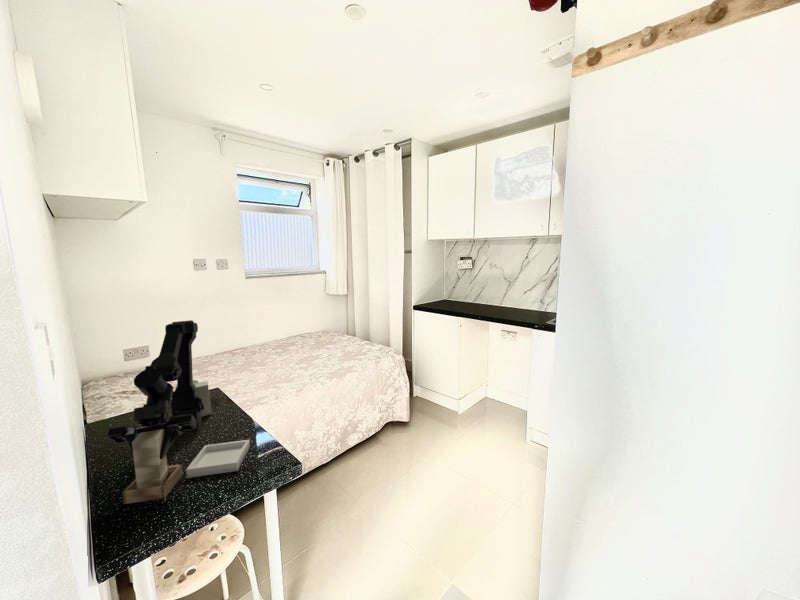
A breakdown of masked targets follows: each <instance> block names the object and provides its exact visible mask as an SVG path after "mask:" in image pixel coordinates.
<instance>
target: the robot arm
mask: <svg viewBox="0 0 800 600" xmlns="http://www.w3.org/2000/svg"><path fill="white" fill-rule="evenodd" d="M198 329H199V326H198V323H197V322H194V320H181V321H173V322H172V323H168V324H165V329H164V330H165V335H164V337H163V342H162V345H161V347H160V352H159V354H158V356H157V357H156V358H155V359H153V360H152V361H151V363H150V365H146V366H145V369H144V370H142V371H140V372H139V373H137V375H136V376H135V377H134V378H133V384H134V386H135V387H136V388H137V389H138V390H139V391H140V392H141V393H142V394H143V395H144V396H145V397H146V403H145V404H143V406H141V407H135V408H134V409H133V420H132V421H133V422H136V421H137V424H138V425H141V426H135V427H132V426H130V424H128V423H125V424H121V425H115V426H111V427H110V428H109V429H108V430H107V432H106V436H105V438H106V439H107V440H109V441H110V442H112V443H114V444H116V445H118V444H124V443H127V444H128V445H129V448H130V451H131V456H132V460H133V462H134V457H133V448H132V442H133V441H134V440H135V439H136V437H137V436H138V435H139V434H140V433H142V432H148V431H154V430H161V429H163V430H164V438H163V443H162V447H161V451H160V459H163V458H164V456H165V455H166V456H167V453H168V451H169V449H171V447H172V445H173V444H174V442H175V441H176V440H177V439H178V437H179V436H181V435H183V433H189V432H196V431H198V430H199V429H200V428H201V427H202V425H203V424H205V421H203V420H202V417H201V410H204V403H203V400H202V398H201V397H200V395H199V393H198V390H197V389H196V387H195V386H194V385H193V354H192V349H193V348H192V347H193V346H192V345H193V343H194V341H195V340H196V338H197V333H198V332H199V330H198ZM175 381H177V382H176V383H177V384H176V385H177V388H176V387H175V389H174V386H173V385H172V384H171V383H170V382H175ZM170 413H172V417H174V420H169V419H170Z"/></svg>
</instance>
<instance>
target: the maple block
mask: <svg viewBox="0 0 800 600" xmlns="http://www.w3.org/2000/svg"><path fill="white" fill-rule="evenodd" d="M163 438H164V430H163V429H161V430H154V431H148V432H142V433H140V434H139V435H138V436H137V437H136V439H135V440H134V441H133V442H132V448H133V457H134V461H133V464H134V472H135V479H136V482H137V489H143V488H150V487H156V486H162V485H163V484H164V482H165V481H166V480H167V478H166V477H167V475H168V468H167V466H168V461H167V454H166V455H165V456H164V458H163V459H160V451H161V447H162V443H163ZM133 457H132V458H133Z"/></svg>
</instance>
